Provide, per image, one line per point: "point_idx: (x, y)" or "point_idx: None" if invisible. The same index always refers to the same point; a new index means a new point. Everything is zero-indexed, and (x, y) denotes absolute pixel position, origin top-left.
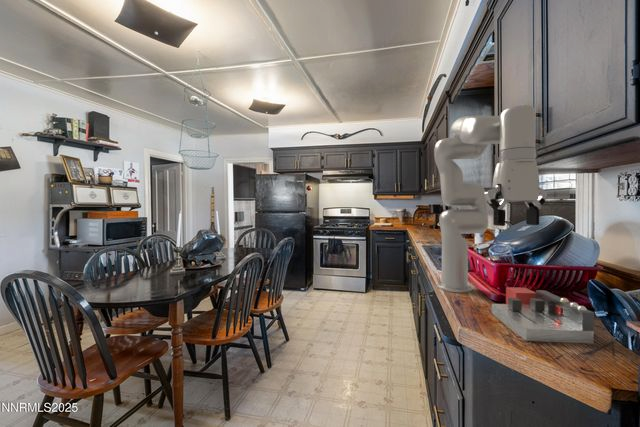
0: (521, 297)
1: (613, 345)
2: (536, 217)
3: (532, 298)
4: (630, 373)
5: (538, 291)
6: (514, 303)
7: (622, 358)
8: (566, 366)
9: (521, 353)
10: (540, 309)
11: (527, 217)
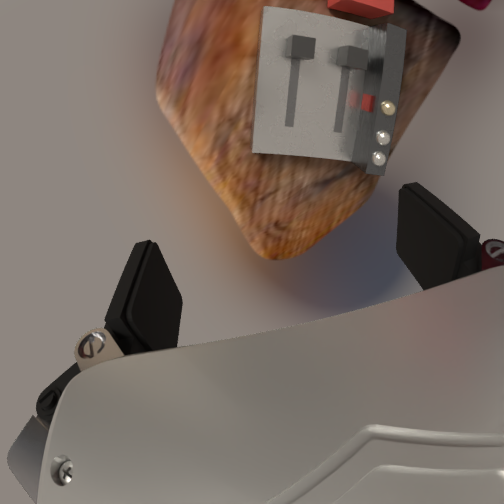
0: (353, 3)
1: None
2: (416, 278)
3: (352, 47)
4: (327, 231)
5: (386, 32)
6: (294, 56)
7: (357, 197)
8: (258, 220)
9: (214, 188)
10: (349, 67)
11: (421, 217)
